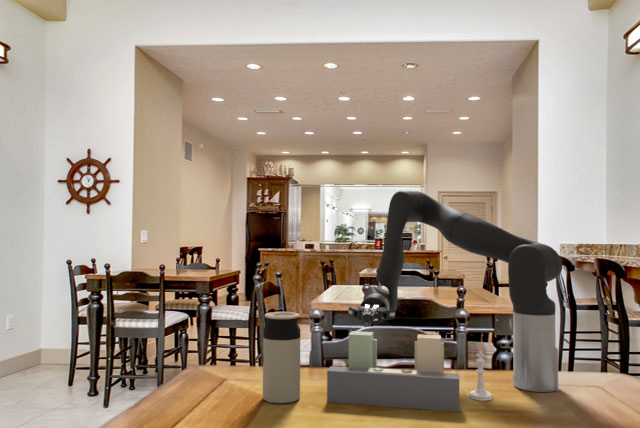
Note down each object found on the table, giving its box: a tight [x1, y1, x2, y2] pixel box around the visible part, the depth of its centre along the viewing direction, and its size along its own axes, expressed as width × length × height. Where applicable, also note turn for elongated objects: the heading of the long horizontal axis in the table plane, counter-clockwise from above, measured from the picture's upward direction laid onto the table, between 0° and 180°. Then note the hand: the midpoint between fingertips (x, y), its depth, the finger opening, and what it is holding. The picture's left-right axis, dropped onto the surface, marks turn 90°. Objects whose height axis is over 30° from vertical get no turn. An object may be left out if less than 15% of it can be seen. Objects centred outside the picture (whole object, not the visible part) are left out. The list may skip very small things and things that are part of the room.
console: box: [326, 365, 460, 413], centre depth 115 cm, size 27×12×7 cm, turn 78°
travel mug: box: [262, 311, 301, 405], centre depth 114 cm, size 8×8×18 cm
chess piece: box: [468, 350, 493, 402], centre depth 116 cm, size 5×5×10 cm
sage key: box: [347, 330, 378, 368], centre depth 120 cm, size 6×5×11 cm
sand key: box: [414, 333, 445, 373], centre depth 117 cm, size 6×5×11 cm
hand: (367, 318), depth 133 cm, fingers closed
